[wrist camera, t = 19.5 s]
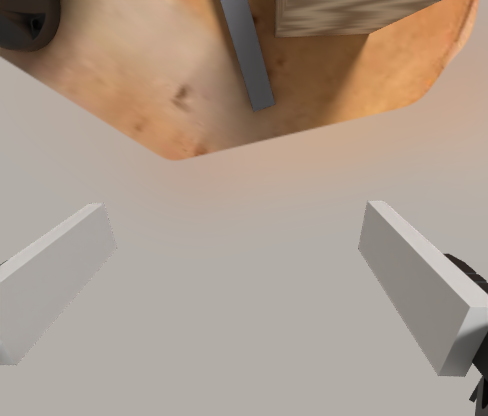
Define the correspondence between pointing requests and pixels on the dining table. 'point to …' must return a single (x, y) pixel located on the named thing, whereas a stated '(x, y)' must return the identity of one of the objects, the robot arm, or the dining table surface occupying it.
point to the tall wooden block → (340, 16)
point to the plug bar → (248, 52)
